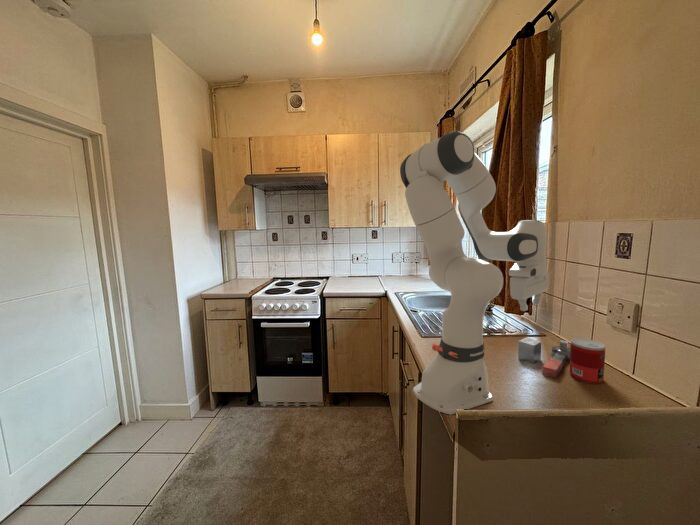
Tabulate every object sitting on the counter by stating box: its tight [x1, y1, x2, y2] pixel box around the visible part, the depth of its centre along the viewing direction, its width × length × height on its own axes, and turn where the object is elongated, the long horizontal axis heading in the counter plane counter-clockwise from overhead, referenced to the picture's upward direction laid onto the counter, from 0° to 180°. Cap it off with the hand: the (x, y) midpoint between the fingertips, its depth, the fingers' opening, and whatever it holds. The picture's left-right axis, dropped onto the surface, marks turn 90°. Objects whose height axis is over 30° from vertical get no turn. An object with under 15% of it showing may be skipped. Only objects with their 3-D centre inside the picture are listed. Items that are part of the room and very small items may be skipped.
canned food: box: [569, 337, 606, 385], centre depth 86 cm, size 8×8×11 cm
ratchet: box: [542, 339, 570, 379], centre depth 95 cm, size 22×7×6 cm, turn 132°
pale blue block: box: [517, 337, 542, 365], centre depth 99 cm, size 5×5×6 cm
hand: (530, 307), depth 98 cm, fingers open, 8 cm apart
